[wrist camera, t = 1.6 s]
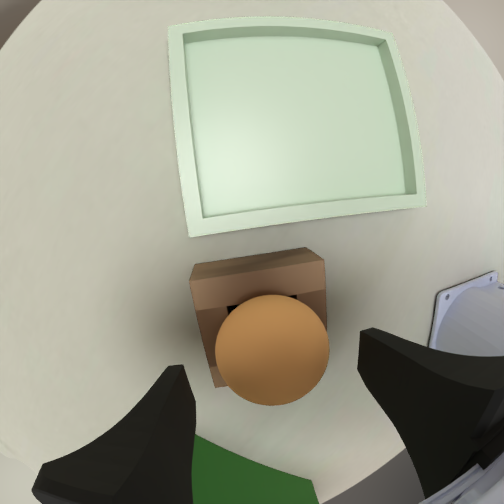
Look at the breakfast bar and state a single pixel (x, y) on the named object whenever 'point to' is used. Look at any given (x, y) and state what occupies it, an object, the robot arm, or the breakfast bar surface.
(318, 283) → the brown square frame
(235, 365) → the ball
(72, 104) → the breakfast bar surface
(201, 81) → the tray
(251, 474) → the hardback book
